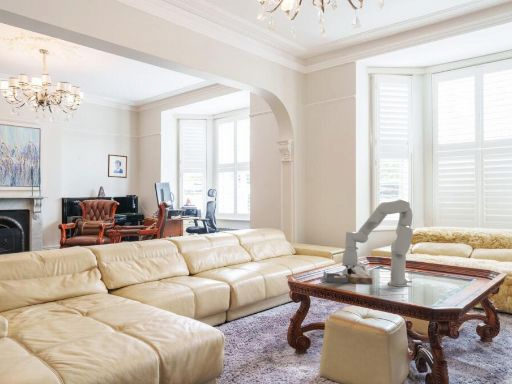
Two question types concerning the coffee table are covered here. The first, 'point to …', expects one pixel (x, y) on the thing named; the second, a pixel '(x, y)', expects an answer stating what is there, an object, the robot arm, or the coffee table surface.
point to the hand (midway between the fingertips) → (349, 274)
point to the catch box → (334, 278)
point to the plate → (359, 278)
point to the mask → (357, 269)
